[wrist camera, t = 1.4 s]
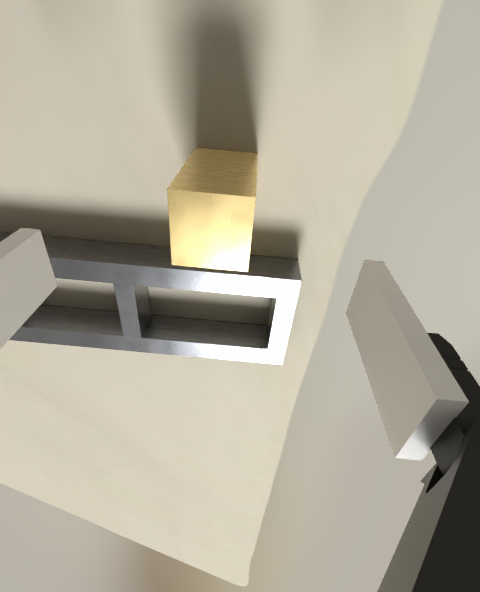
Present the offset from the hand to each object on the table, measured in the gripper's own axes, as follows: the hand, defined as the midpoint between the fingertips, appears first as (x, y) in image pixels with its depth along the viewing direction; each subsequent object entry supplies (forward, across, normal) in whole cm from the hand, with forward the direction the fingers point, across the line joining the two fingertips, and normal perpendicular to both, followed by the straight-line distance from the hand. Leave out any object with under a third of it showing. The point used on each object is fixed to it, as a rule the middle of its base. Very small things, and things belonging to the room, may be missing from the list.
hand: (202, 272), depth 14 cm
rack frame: (+11, -7, -10) cm, 16 cm away
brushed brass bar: (+11, 0, 0) cm, 11 cm away
